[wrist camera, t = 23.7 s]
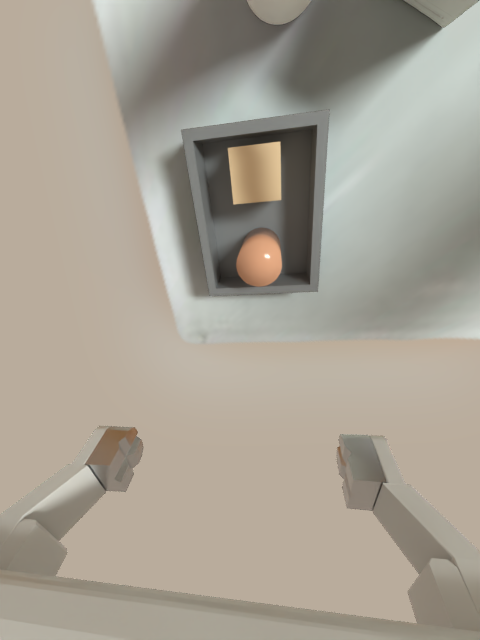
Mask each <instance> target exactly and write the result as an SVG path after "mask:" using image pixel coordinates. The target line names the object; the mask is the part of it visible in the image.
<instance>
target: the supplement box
mask: <svg viewBox="0 0 480 640" xmlns="http://www.w3.org/2000/svg"><path fill="white" fill-rule="evenodd" d="M404 1H405V2H407V3H408V4H410V5H412V6H413V7H415V8H416V9H417V10H419V11H420V12H422V13H423V14H425V15H426V16H428V17H429V18H431V19H432V20H433V21H435V22H436V23H437V24H439V25H440V26H441V27H443V28H444V27H446V26H447V25H449V24H450V23H451V22H452V21H454V20H455V19H456V18H458V17H459V16H460V15H461V14H463V13H464V12H465V11H466V10H468V9H469V8H470V7H472V6H473V5H474V4H475V3H477V2H478V1H479V0H404Z"/></svg>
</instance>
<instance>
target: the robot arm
mask: <svg viewBox="0 0 480 640" xmlns="http://www.w3.org/2000/svg"><path fill="white" fill-rule="evenodd" d="M137 433H138V432H137V430H136V429H135V427H115V426H113V427H112V426H99V427H97V428H96V429H95V430H94V432H93V433H92V435H91V436H90V438H89V439H88V441H87V442H86V444H85V446H84V447H83V448H82V450H81V451H80V453H79V454H78V456H77V457H76V459H75V460H74V462H73V463H72V464H68V465H67V466H65V467H64V468H62V469H61V470H60V471H58V472H57V473H56V474H54V475H53V476H52V477H50V478H49V479H47V480H46V481H45V482H44V483H42V484H41V485H40V486H38V487H37V488H35V489H34V490H33V491H31V492H30V493H29V494H27V495H26V496H25V497H23V498H22V499H21V500H19V501H18V502H16V503H15V504H14V505H12V506H11V507H10V508H8V509H7V510H6V511H4V512H3V513H2V514H0V640H480V551H479V550H478V549H477V548H476V547H475V546H474V545H473V544H472V543H471V542H470V541H469V540H468V539H467V538H466V537H465V536H464V535H462V533H460V532H459V531H458V530H457V529H456V528H455V527H454V526H453V525H452V524H451V523H450V522H449V521H448V520H447V519H446V518H445V517H444V516H443V515H442V514H441V513H440V512H439V511H437V510H436V509H435V508H434V507H433V506H432V505H431V504H430V503H429V502H428V501H427V500H426V499H425V498H424V497H423V496H422V495H421V494H420V493H419V492H418V491H416V489H415V488H413V487H412V486H411V485H409V484H405V481H404V479H403V477H402V474H401V472H400V470H399V467H398V465H397V463H396V460H395V458H394V455H393V453H392V451H391V448H390V446H389V444H388V441H387V439H386V438H385V437H384V436H369V435H343V434H342V435H340V436H339V444H340V446H339V447H338V448H337V464H338V469H339V474H340V476H341V477H342V478H343V479H344V481H343V486H342V489H343V493H344V498H345V502H346V506H347V508H350V509H360V510H370V511H373V513H374V515H375V516H376V517H377V519H378V520H379V521H380V523H381V524H382V526H383V527H384V528H385V529H386V531H387V532H388V533H389V535H390V536H391V538H392V539H393V540H394V541H395V543H396V544H397V546H398V547H399V548H400V550H401V551H402V552H403V554H404V555H405V556H406V557H407V559H408V560H409V562H410V563H411V564H412V566H413V567H414V568H415V570H416V571H417V572H418V574H419V576H418V578H417V579H416V580H415V582H414V583H413V584H412V586H411V587H410V589H409V590H408V595H409V599H410V602H411V605H412V608H413V611H414V615H415V618H416V621H417V623H409V622H401V621H393V620H386V619H378V618H370V617H363V616H356V615H347V614H340V613H333V612H324V611H317V610H309V609H302V608H294V607H286V606H279V605H271V604H264V603H255V602H248V601H241V600H233V599H225V598H217V597H210V596H202V595H195V594H187V593H178V592H172V591H164V590H156V589H149V588H141V587H133V586H125V585H118V584H110V583H103V582H94V581H87V580H79V579H72V578H64V577H57V576H56V574H57V572H58V570H59V568H60V566H61V564H62V563H63V561H64V559H65V557H66V555H67V548H65V547H64V546H63V545H62V544H61V543H60V542H59V540H60V539H61V538H62V537H63V536H64V535H65V534H66V533H67V532H68V531H69V530H70V529H71V528H72V527H73V526H74V525H75V524H76V523H77V522H78V521H79V520H80V519H81V518H82V517H83V515H85V513H86V512H87V511H88V510H89V509H90V508H91V507H92V506H93V505H94V504H95V503H96V502H97V501H98V500H99V499H100V498H101V497H102V496H103V495H104V494H105V493H106V491H121V492H126V490H127V488H128V486H129V484H130V482H131V479H132V477H133V475H134V473H133V468H134V467H135V466H136V465H137V464H138V463H139V461H140V459H141V457H142V452H143V442H142V440H141V439H140V438H139V437H137V436H136V435H137Z"/></svg>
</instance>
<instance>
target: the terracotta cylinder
mask: <svg viewBox="0 0 480 640" xmlns="http://www.w3.org/2000/svg"><path fill="white" fill-rule="evenodd" d="M236 268H237V272H238V274H239V276H240V277H241V279H242V280H243V281H244V282H246V283H247V284H249V285H252V286H257V287H261V286H266V285H269V284H271V283H272V282H274V281H275V280H276V279H277V278H278V276H279V274H280V272H281V269H282V259H281V244H280V240H279V238H278V236H277V234H276V233H275V232H274V231H272V230H270V229H268V228H256V229H253V230H252V231H250V232H249V233H248V234H247V235H246V237H245V239H244V241H243V244H242V247H241V250H240V252H239V255H238V258H237V262H236Z"/></svg>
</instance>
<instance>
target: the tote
mask: <svg viewBox="0 0 480 640" xmlns="http://www.w3.org/2000/svg"><path fill="white" fill-rule="evenodd" d="M329 111H330V109H328V110H321V111H314V112H306V113H299V114H292V115H285V116H277V117H270V118H263V119H256V120H248V121H241V122H234V123H227V124H219V125H212V126H205V127H198V128H190V129H183V130H181V133H182V139H183V144H184V150H185V156H186V162H187V168H188V173H189V179H190V185H191V191H192V197H193V202H194V208H195V214H196V220H197V225H198V231H199V237H200V243H201V249H202V254H203V260H204V266H205V272H206V278H207V283H208V289H209V295H210V296H220V295H245V294H270V293H294V292H318V282H319V267H320V251H321V236H322V220H323V204H324V189H325V173H326V158H327V142H328V126H329ZM272 142H280V145H281V200H276V201H266V202H255V203H244V204H233V195H232V185H231V175H230V165H229V155H228V148H231V147H240V146H248V145H256V144H264V143H272ZM256 228H268V229H270V230H272V231H274V232H275V233H276V234H277V236H278V238H279V240H280V244H281V259H282V269H281V272H280V274H279V276H278V278H277V279H276V280H275V281H274V282H272V283H271V284H269V285H266V286H261V287H257V286H252V285H249V284H247V283H246V282H244V281H243V280H242V279H241V277H240V276H239V274H238V272H237V268H236V262H237V258H238V255H239V252H240V250H241V247H242V244H243V241H244V239H245V237H246V235H247V234H248V233H249V232H250V231H252V230H253V229H256Z"/></svg>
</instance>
